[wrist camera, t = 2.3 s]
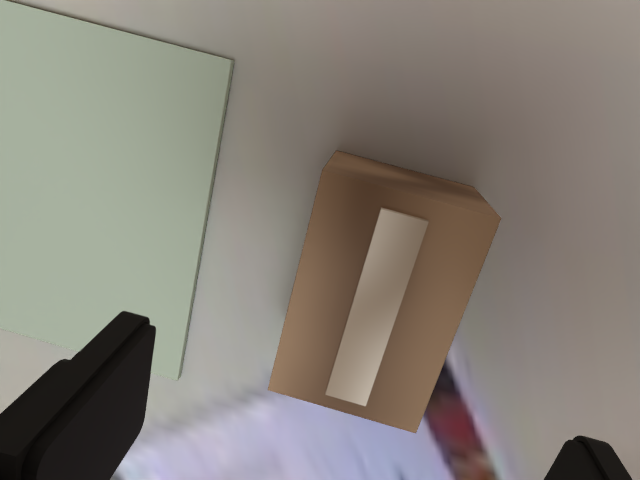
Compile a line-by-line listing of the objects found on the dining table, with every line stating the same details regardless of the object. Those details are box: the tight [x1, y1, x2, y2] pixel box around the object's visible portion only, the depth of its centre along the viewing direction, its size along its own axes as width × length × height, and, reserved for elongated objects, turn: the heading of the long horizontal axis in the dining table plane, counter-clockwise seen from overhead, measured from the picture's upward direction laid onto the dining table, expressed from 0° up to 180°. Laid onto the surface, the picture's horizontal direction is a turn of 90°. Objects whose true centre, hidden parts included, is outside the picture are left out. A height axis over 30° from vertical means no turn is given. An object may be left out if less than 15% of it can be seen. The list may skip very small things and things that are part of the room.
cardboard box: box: [268, 150, 501, 433], centre depth 19 cm, size 6×9×5 cm, turn 166°
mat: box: [0, 0, 234, 381], centre depth 22 cm, size 16×16×1 cm
